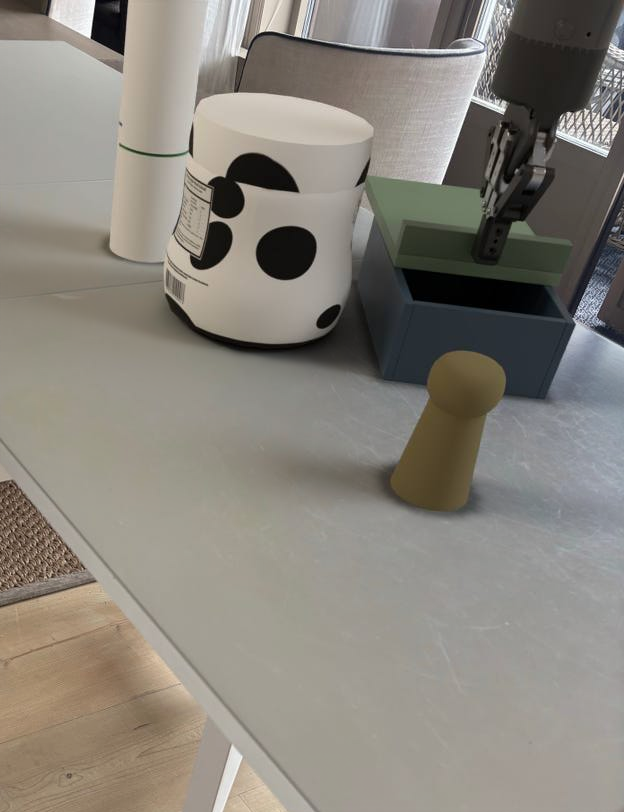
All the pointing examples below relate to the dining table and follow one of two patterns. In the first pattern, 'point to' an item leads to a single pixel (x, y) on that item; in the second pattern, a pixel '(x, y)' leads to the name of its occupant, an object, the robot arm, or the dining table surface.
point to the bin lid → (456, 233)
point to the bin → (461, 321)
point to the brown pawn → (449, 431)
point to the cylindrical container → (155, 123)
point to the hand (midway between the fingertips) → (483, 261)
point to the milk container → (267, 219)
